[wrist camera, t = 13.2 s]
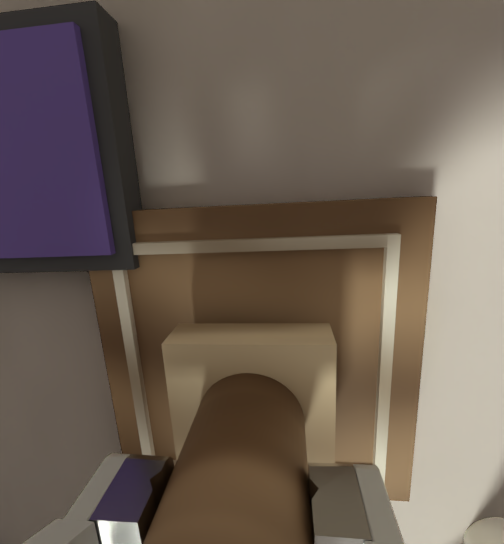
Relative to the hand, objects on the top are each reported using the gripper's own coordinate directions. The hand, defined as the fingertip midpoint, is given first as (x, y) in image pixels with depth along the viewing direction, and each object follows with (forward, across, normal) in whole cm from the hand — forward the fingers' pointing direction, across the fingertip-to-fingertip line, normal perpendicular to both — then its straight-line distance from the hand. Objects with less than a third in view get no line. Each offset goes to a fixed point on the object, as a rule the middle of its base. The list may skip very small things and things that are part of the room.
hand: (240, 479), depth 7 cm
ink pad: (+6, +8, -8) cm, 13 cm away
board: (+6, 0, 0) cm, 6 cm away
